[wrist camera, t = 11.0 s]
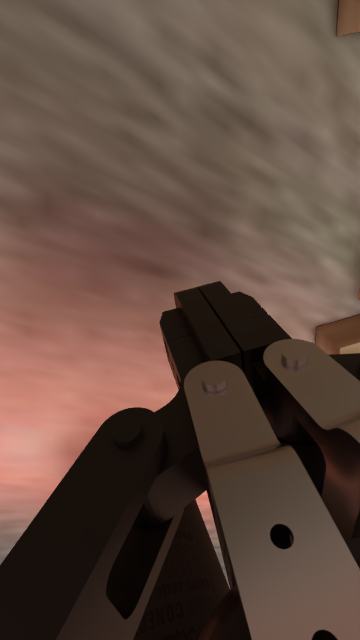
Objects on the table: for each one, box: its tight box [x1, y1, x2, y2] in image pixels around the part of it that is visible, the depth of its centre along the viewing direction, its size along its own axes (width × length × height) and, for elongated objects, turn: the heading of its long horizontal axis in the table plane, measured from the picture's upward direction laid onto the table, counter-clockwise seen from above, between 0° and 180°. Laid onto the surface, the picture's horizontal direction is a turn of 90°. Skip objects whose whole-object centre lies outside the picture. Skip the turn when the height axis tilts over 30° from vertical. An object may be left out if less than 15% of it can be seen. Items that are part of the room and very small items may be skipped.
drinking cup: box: [133, 499, 230, 640], centre depth 16 cm, size 8×8×20 cm
